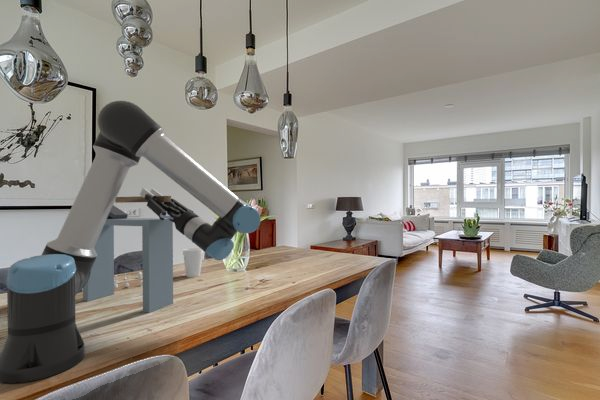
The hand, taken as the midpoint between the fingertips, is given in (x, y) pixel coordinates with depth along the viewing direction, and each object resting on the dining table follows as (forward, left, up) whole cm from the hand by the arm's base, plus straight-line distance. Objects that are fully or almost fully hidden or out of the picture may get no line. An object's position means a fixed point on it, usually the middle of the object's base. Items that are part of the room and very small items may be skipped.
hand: (146, 191), depth 110 cm
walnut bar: (0, +2, -4) cm, 4 cm away
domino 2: (0, +13, -9) cm, 16 cm away
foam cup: (+41, +17, -40) cm, 60 cm away
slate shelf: (0, +10, -40) cm, 41 cm away
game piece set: (+21, +33, -40) cm, 56 cm away
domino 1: (0, +50, -39) cm, 63 cm away
